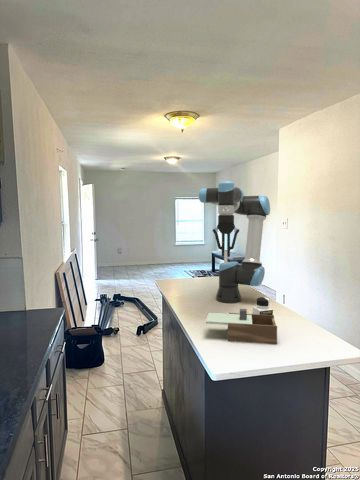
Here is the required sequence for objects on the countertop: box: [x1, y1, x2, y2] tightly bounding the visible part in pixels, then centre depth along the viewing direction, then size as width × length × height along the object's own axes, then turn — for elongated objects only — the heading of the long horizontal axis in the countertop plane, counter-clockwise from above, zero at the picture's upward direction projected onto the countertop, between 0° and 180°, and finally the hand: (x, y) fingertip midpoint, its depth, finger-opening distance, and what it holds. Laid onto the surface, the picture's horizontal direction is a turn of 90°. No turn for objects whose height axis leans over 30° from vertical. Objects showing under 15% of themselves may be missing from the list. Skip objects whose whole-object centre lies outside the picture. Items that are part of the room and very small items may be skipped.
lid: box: [205, 308, 252, 326], centre depth 142 cm, size 12×20×5 cm, turn 79°
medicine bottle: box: [252, 296, 274, 315], centre depth 158 cm, size 7×7×12 cm
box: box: [227, 312, 278, 345], centre depth 141 cm, size 14×20×8 cm
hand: (225, 263), depth 155 cm, fingers closed
